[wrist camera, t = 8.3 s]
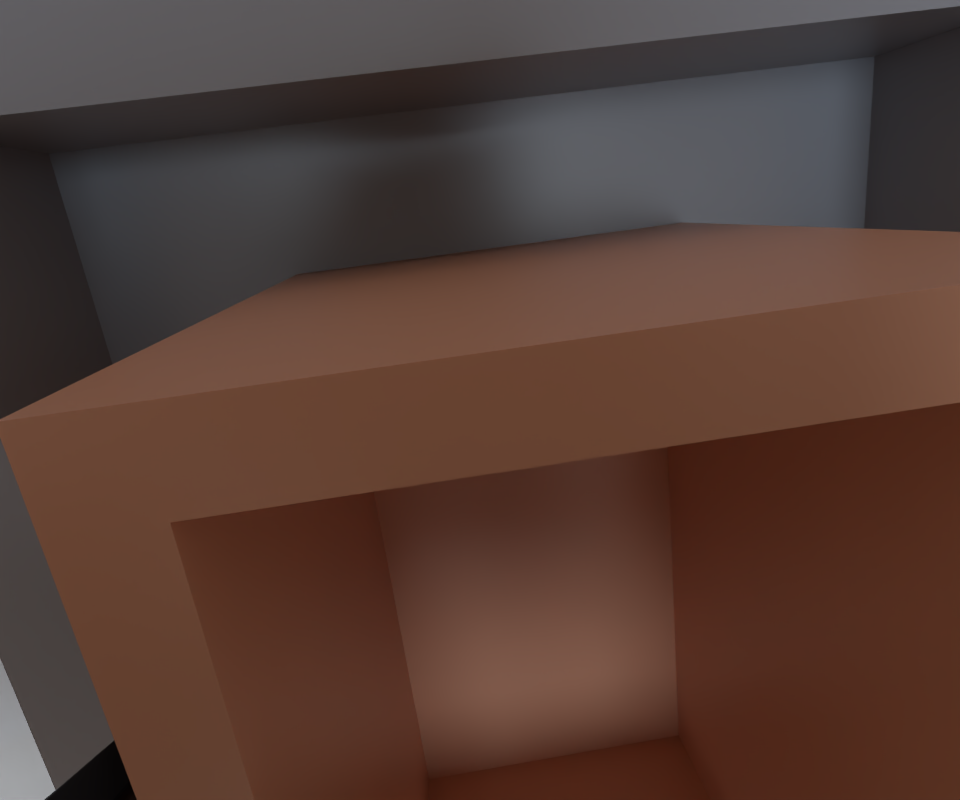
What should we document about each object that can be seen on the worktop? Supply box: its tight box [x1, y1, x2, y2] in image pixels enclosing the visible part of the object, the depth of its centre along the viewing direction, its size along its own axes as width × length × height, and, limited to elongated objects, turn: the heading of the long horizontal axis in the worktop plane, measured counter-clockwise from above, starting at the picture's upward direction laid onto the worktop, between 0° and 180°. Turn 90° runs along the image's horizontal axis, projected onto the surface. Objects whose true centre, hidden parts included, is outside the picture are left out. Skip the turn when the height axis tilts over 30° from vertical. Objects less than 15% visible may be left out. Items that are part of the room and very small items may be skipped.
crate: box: [0, 0, 960, 790], centre depth 10 cm, size 14×16×4 cm
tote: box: [0, 223, 960, 800], centre depth 8 cm, size 6×10×7 cm, turn 7°
